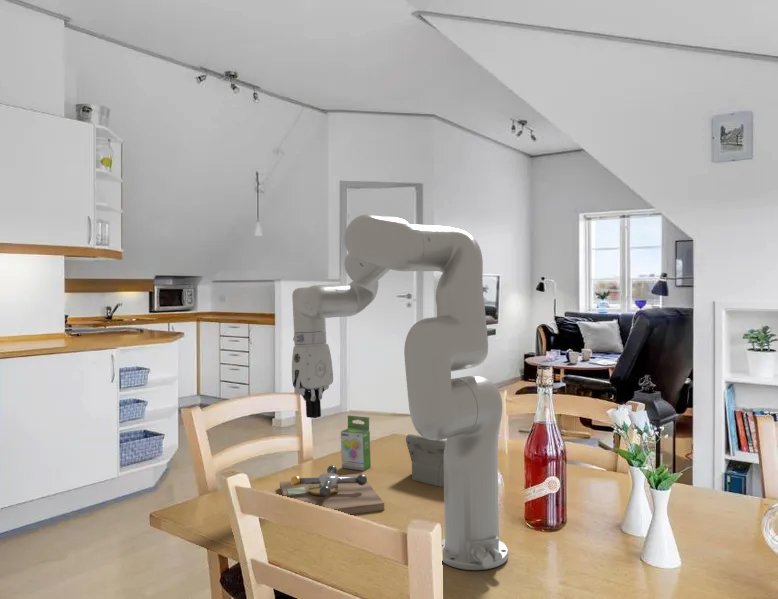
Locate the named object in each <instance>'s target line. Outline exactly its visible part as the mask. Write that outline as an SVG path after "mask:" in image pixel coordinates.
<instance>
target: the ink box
mask: <svg viewBox="0 0 778 599" xmlns="http://www.w3.org/2000/svg"><path fill="white" fill-rule="evenodd" d="M353 421H362V422H363V423H355V422H353ZM370 432H371V431H370V417H368V416H367V417H366V416H357V415H349V414H348V415H347V428H346V429H343V430H340V454H341V468H342V469H347V470H348V469H349V470H357V471H361V472H362V471H363V472H364V471H367V470H368V469H370V468H371V462H372V461H371V438H370V437H371V435H370V434H371V433H370Z"/></svg>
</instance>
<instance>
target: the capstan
mask: <svg viewBox="0 0 778 599" xmlns="http://www.w3.org/2000/svg"><path fill="white" fill-rule="evenodd" d="M337 472H338V468H337V467H336V466H335V465H329V466H328V467H327V468H326V473H322V474H319V475H318V477H300V476H299V475H294V476H291V478H290V481H291V485H292V486H294V487H297V486H299V485H300V484H310V485H309V486H308V492H309V493H310V494H312V495H318V496H322V497H324V498H326V497H328V496H329V495H331V494H334V493H337V492H338V491H339V484H344V483H358V484H359V485H365V484H366V482H368V479H367V476H366V475H365V474H362V473H361V475H359V476H358V477H338V476H339V474H337Z"/></svg>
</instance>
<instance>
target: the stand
mask: <svg viewBox="0 0 778 599" xmlns="http://www.w3.org/2000/svg"><path fill="white" fill-rule="evenodd" d="M361 474H362V473H353V474H351V473H350V474H344V475H343V474H340V475H338V477H358V476H359V475H361ZM309 485H310V484H300V485H299V486H297V487H294V486H292V485H291V480H286V481H280V482H279V490H280V492H281V496H282V495H283V496H287V497H290V498H294V499H298V500H301V501H304V502H308V503H312V504H315V505H319V506H323V507H326V508H331V509H334V510H338V511H341V512H344V513H348V515H355V514H363V513H364V514H365V513H372V512H378V511H379V512H380V511H385V502H384V501H383V500H382V498H381V497H380V496H379V495H378V493H377V492H376V491H375V489H374V488H373V486H372V485H371V484H370V483H369V482H368V481H367V482H366V484H365V485H359V484H358V483H344V484H339V491H338V492H337V493H334V494H331V495H329V496H328V497H326V498H324V497H322V496H318V495H312V494H310V493H309V492H308V486H309ZM283 496H282V497H283Z"/></svg>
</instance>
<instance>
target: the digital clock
mask: <svg viewBox="0 0 778 599" xmlns="http://www.w3.org/2000/svg"><path fill="white" fill-rule="evenodd" d="M446 441H447V439H442V440H429V439H426V438H424V437H423V436H421V435H420V434H413V433H412V434H410V433H408V434H407V435H406V436H405V442H406V446H407V450H408V453H409V456H410V460H411V480H413V481H415V482H418V483H419V482H420V483H423V484H427V485H431V486H435V487H439V488H442V487H444V449H445V444H446Z"/></svg>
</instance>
